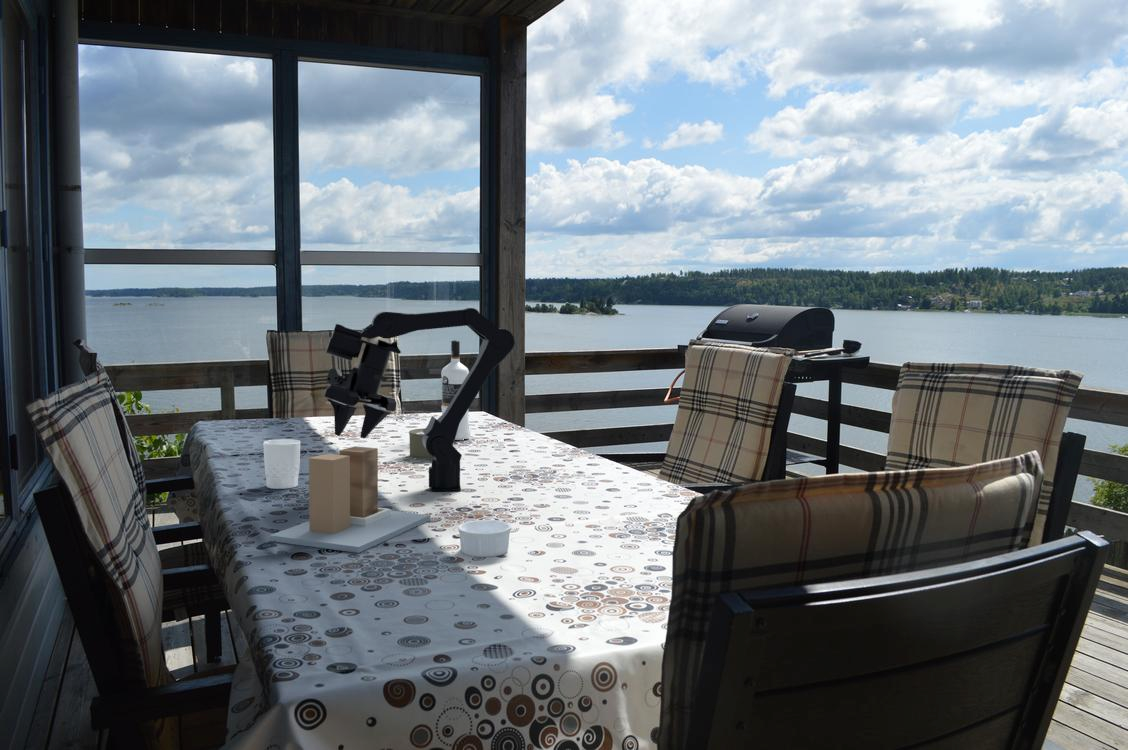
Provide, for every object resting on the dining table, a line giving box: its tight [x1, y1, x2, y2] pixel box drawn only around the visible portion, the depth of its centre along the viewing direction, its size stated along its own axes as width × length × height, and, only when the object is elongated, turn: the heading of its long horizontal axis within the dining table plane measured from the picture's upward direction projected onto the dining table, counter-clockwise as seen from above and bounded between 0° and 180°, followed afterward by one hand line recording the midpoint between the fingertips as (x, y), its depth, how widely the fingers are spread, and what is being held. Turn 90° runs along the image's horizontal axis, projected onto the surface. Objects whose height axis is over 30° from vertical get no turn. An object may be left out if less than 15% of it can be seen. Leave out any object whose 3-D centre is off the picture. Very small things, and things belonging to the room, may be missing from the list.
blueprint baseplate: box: [269, 453, 431, 554], centre depth 159 cm, size 24×18×14 cm
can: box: [408, 427, 454, 461], centre depth 237 cm, size 12×12×7 cm
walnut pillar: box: [338, 446, 379, 518], centre depth 164 cm, size 5×5×13 cm
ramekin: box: [457, 519, 512, 558], centre depth 148 cm, size 9×9×4 cm
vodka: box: [440, 339, 471, 441], centre depth 267 cm, size 9×9×30 cm
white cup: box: [262, 438, 301, 490], centre depth 196 cm, size 8×8×10 cm
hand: (350, 436), depth 189 cm, fingers open, 9 cm apart
